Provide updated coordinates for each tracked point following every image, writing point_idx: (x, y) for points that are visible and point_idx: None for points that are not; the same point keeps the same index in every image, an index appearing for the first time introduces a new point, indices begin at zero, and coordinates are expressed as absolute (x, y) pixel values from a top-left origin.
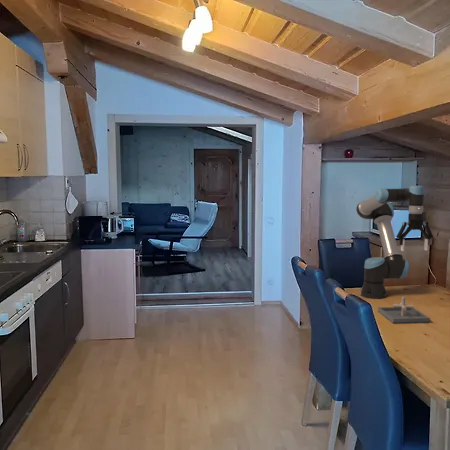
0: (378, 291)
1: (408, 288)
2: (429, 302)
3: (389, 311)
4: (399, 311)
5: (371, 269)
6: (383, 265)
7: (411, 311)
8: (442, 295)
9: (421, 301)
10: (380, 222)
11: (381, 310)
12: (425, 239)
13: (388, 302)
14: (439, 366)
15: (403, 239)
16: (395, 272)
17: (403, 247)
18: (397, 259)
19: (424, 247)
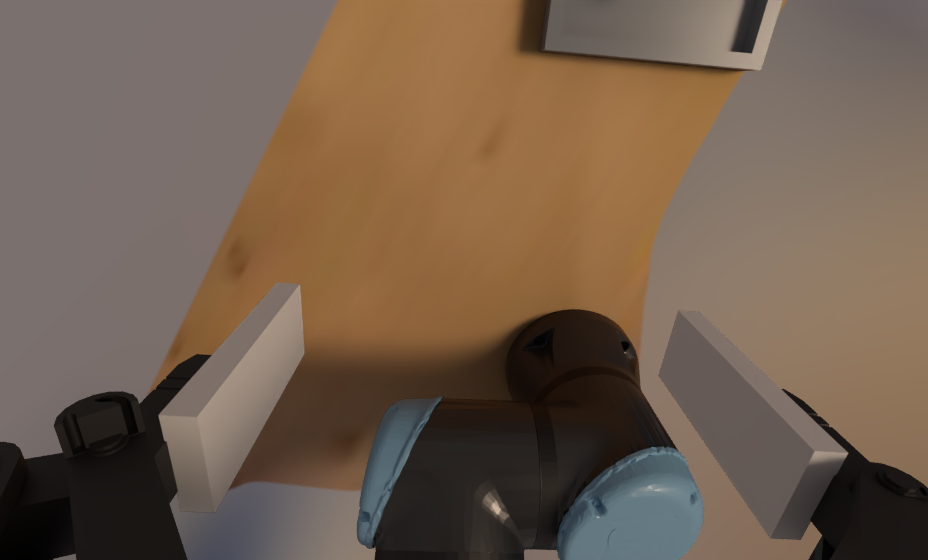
0: (587, 333)
1: (325, 449)
2: (340, 204)
3: (696, 36)
4: (637, 24)
5: (670, 444)
6: (590, 460)
7: (566, 9)
8: (203, 316)
9: (375, 229)
10: None
11: (778, 6)
12: (215, 464)
13: (566, 240)
14: None
15: (813, 480)
16: (491, 409)
17: (724, 344)
18: (458, 514)
19: (289, 369)
